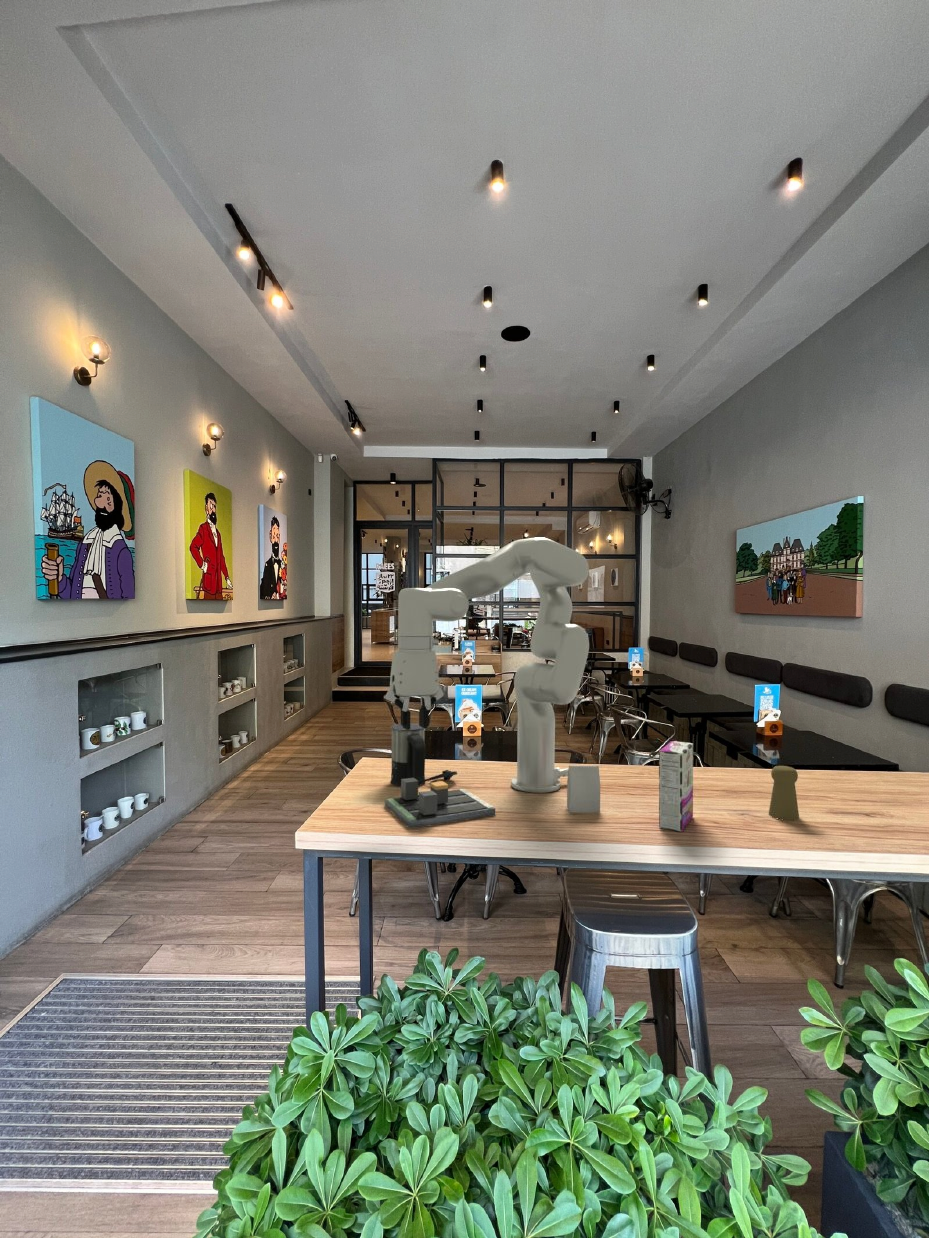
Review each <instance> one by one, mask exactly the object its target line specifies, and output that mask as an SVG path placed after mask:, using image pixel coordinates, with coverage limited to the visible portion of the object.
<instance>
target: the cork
mask: <svg viewBox="0 0 929 1238" xmlns="http://www.w3.org/2000/svg"><path fill="white" fill-rule="evenodd" d="M770 773H771V779H772V780H773V786H772V791H771V797H770V803H769V809H768V815H771V816H772V817H771V816H770V817H771V818H773V817H774V818H773V819H775V818H778V819H777V820H779V819H783V820H782V821H784V820H786V822H795V820H797V819H799V820H800V812H799V806H798V798H797V789H796V783H797V781H798V778H799V774H798V772H797V770H796V769H795V768H794V767H792V766H788V765H775V766H774V767H773V768H772V769H771V771H770ZM797 821H798V820H797Z"/></svg>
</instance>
